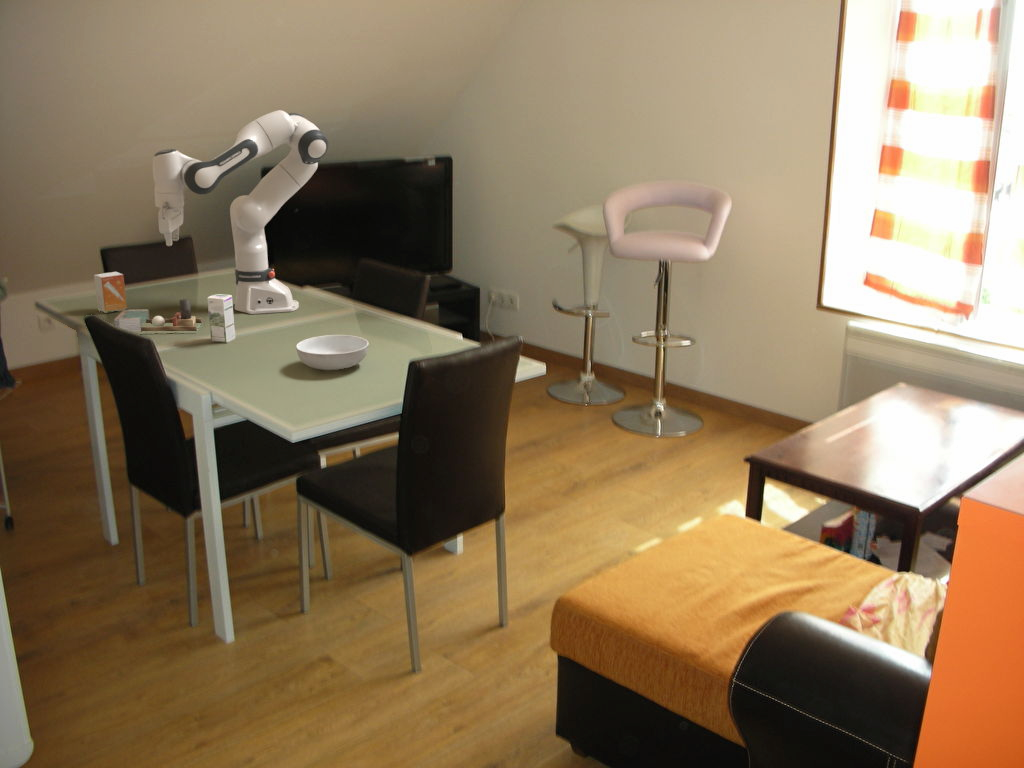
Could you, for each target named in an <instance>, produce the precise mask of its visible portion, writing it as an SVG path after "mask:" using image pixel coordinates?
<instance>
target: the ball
mask: <svg viewBox="0 0 1024 768" xmlns="http://www.w3.org/2000/svg"><path fill="white" fill-rule="evenodd" d="M151 319H152V324H153V326H154V327H160V326H164V324H165V320H164V319H165V318H164V317H163V316H161V315H156V316H154V317H153V318H151Z"/></svg>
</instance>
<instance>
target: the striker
mask: <svg viewBox="0 0 1024 768" xmlns="http://www.w3.org/2000/svg"><path fill="white" fill-rule="evenodd" d="M190 301H191V299H188V298H185V299H184V298H183V299H179V311H180V312H175V314H174V315H173V317H172V318H171V319H172V322H173V326H196V318H197V317H196V315H192V312H191V302H190Z"/></svg>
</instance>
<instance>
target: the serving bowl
mask: <svg viewBox="0 0 1024 768" xmlns="http://www.w3.org/2000/svg"><path fill="white" fill-rule="evenodd" d="M369 344H370V343H369V341H368V340H367V339H366V338H363V337H360V336H356V335H349V334H329V335H320V336H314V337H310V338H306V339H303V340H301V341H299V342H298V343H297V344H296V346H295V349H296V353H297V356H298V358H299V359H300V361H301V362H302V363H303V364H304V365H307V367H310V368H313V369H316V370H322V371H328V370H335V371H340V370H339V369H342V370H345V369H348V368H351V367H353V366H356V365H358V364H360V363H361V362H362V361H363V360H364V359H365V358H366V356H367V353H368V351H369ZM344 368H345V369H344Z"/></svg>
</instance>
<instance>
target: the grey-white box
mask: <svg viewBox="0 0 1024 768" xmlns="http://www.w3.org/2000/svg"><path fill="white" fill-rule="evenodd" d="M148 319H150V311H149V309H144V308H143V309H127V310H123V311H120V313H119V314H118V315H117V316H116V317H115V318H114V323H113V324H114V327H115V326H117V327H120V328H122V329H125V330H128V331H133V332H136V331H140V332H142V324H141V323H146V320H148Z"/></svg>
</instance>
